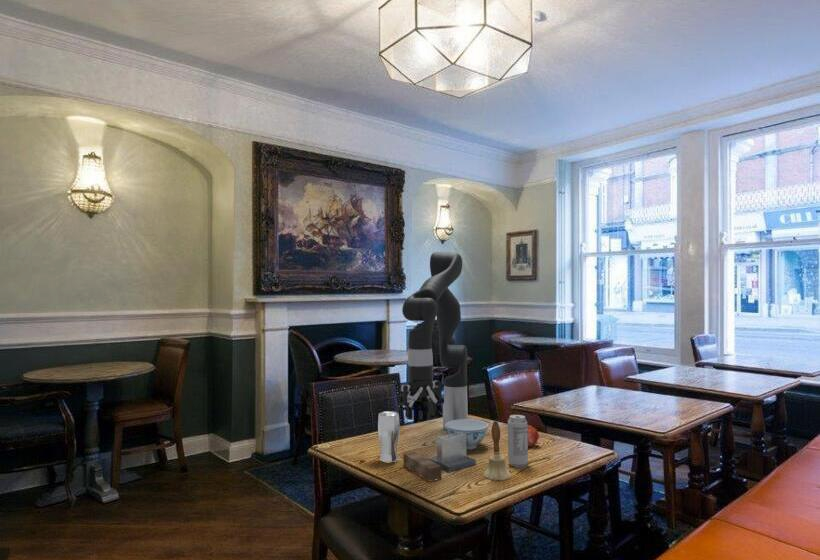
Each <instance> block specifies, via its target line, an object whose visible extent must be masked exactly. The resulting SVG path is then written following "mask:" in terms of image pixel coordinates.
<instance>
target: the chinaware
mask: <svg viewBox="0 0 820 560" xmlns="http://www.w3.org/2000/svg"><path fill="white" fill-rule="evenodd" d="M445 426H446V430H445V431H446V433H447V435H449V434H453V433H458V432H463V433H466V450H473V449H477V446H478V444H480V443H481V442H482V441H483V440H484V439H485V437H486V435H487V433H488V429H489V423H487V422H485V421H483V420H479V419H473V418H472V419H459V420H452V421H449V422H447V423H446V424H445Z"/></svg>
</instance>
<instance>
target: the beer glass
mask: <svg viewBox="0 0 820 560" xmlns="http://www.w3.org/2000/svg"><path fill="white" fill-rule="evenodd" d="M377 434H378V439H379V444H380V454H379V455H380V456H379V461H380V462H381V461H382V462H395V463H397V462H398V461H399V454H398V445H399V443H398V442H399V439H400V438H399V437H400V415H399V412H397V411H382V412H379V413H378V420H377ZM396 461H397V462H396ZM382 462H381V463H382Z"/></svg>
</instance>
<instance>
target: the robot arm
mask: <svg viewBox="0 0 820 560" xmlns="http://www.w3.org/2000/svg"><path fill="white" fill-rule="evenodd" d="M429 271H430V277H429V278H428V279H426V280H425V281H424V283H422V285H421V286H420V288H419V289H418V290H416V291H415V292H414V293H412V294H411V295H409V296H408V297H407V298H406V299H405V300H404V302H403V305H402V310H401V311H402V315H403V317H404V318H405V320H407V321H410V322H411V321H412V322H423V323H422V325H421V327H418V328H413V329H411V330H409V332H408V354H407V355H408V356H407V359H408V360H407V363H408V364H407V366H408V369H407V371H408V373H407V377H408V384H402V383H401V384H400V385H399V396H398V397H399V401H398V402H399V405H401V406H404V407H405V408H404V409H405V410H404V412H405V417H406V419H407V420H409V421H412V420H413V419H414V417H413V416H414V415H413V414H414V411H413V410H414V409H413V408H414V407H413V405H414V403H415V402H416V401H418V399H421V398H426V399H428V401H429V402H428V413H429V415H430V416H433V417H434V416H436V413H437V403H438V402H439V401H442V399H443V400H444V401H443V403H442V428H443V429H444V430H445V431H447V430H446V426H445V424H446V423H447V422H449V421H452V420H459V419H468V416H469V415H468V374H467V373H468V348H467V346H466V345H463V344H449V341H450V339H451V338H452V336H453V334H454V333H455V332H456V330H458V327H459V326H460V324H461V321H462V314H461V313H462V312H461V305H460V302H459V301H458V299H457V298H456V296H455V295H454V294H453V292H452V291H451V290H450V288H449V287H450V286H451V285H453V283H454V282H456V280H457V279H458V278H459V277H460V275H461V273H462V271H463V258H462V255H461V254H460V253H457V252H451V251H450V252H447V251H434V252H433V253H432V254H431V255H430V258H429ZM435 321H436V323H437V330H438V339H439V343H438V345H439V363H440V365H441V366H442V368H445V369H458V371H457V372H455V373H454V374H451V375H449V376H446V377H445V378H444V379H443V395H442V382H441V381H440V380H436V379H434V357H433V346H432V345H433V344H432V342H433V341H432V340H433V337H432V336H433V329H434V326H435ZM433 379H434V380H433ZM432 389H433V391H432ZM442 396H443V397H442Z"/></svg>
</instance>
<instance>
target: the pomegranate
mask: <svg viewBox="0 0 820 560" xmlns="http://www.w3.org/2000/svg"><path fill="white" fill-rule="evenodd" d="M527 436H528V448H529V447H530V448H531V447H534V446H535V445H536V444H538V440H539V438H540V436H539V432H538V429H536V428H534V427H533V426H532V425H530V424H527Z"/></svg>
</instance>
